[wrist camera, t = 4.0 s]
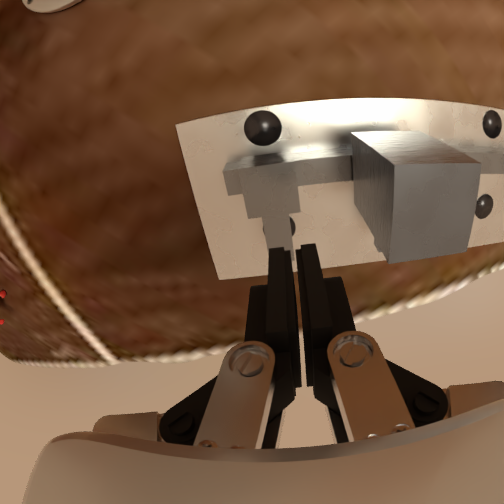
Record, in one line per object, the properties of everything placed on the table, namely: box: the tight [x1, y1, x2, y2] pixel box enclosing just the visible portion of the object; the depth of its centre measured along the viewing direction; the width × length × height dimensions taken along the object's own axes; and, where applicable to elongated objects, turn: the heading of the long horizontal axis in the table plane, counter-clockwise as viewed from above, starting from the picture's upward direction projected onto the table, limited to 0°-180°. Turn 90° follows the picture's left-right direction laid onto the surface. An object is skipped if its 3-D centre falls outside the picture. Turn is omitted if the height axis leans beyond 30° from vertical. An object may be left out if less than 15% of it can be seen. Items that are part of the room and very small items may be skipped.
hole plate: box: [176, 97, 504, 280], centre depth 20 cm, size 14×34×1 cm, turn 100°
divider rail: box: [222, 145, 504, 261], centre depth 18 cm, size 8×32×4 cm, turn 100°
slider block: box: [351, 131, 482, 264], centre depth 16 cm, size 8×5×9 cm, turn 10°
